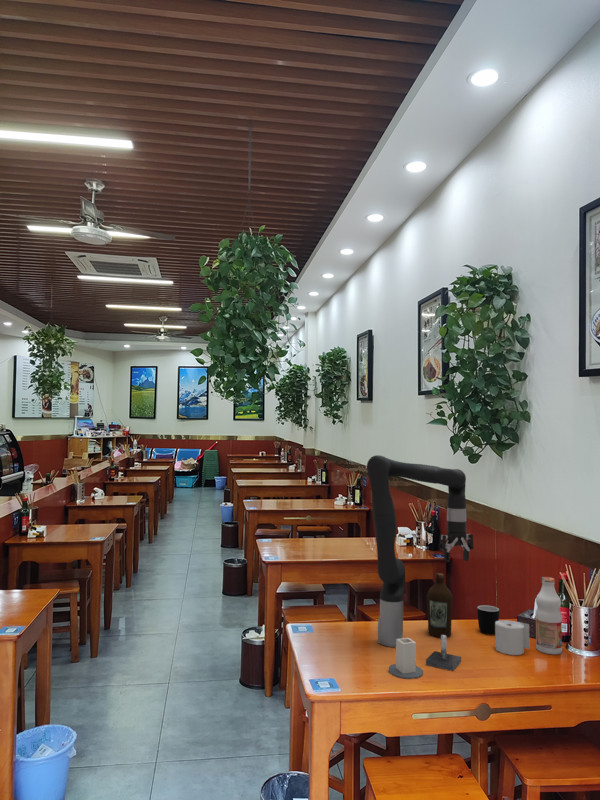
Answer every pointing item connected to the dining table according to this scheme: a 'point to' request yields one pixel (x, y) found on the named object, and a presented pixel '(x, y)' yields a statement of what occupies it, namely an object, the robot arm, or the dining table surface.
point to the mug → (487, 618)
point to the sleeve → (406, 655)
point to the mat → (406, 675)
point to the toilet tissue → (511, 637)
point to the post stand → (443, 657)
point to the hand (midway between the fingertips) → (456, 561)
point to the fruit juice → (548, 619)
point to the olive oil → (439, 608)
